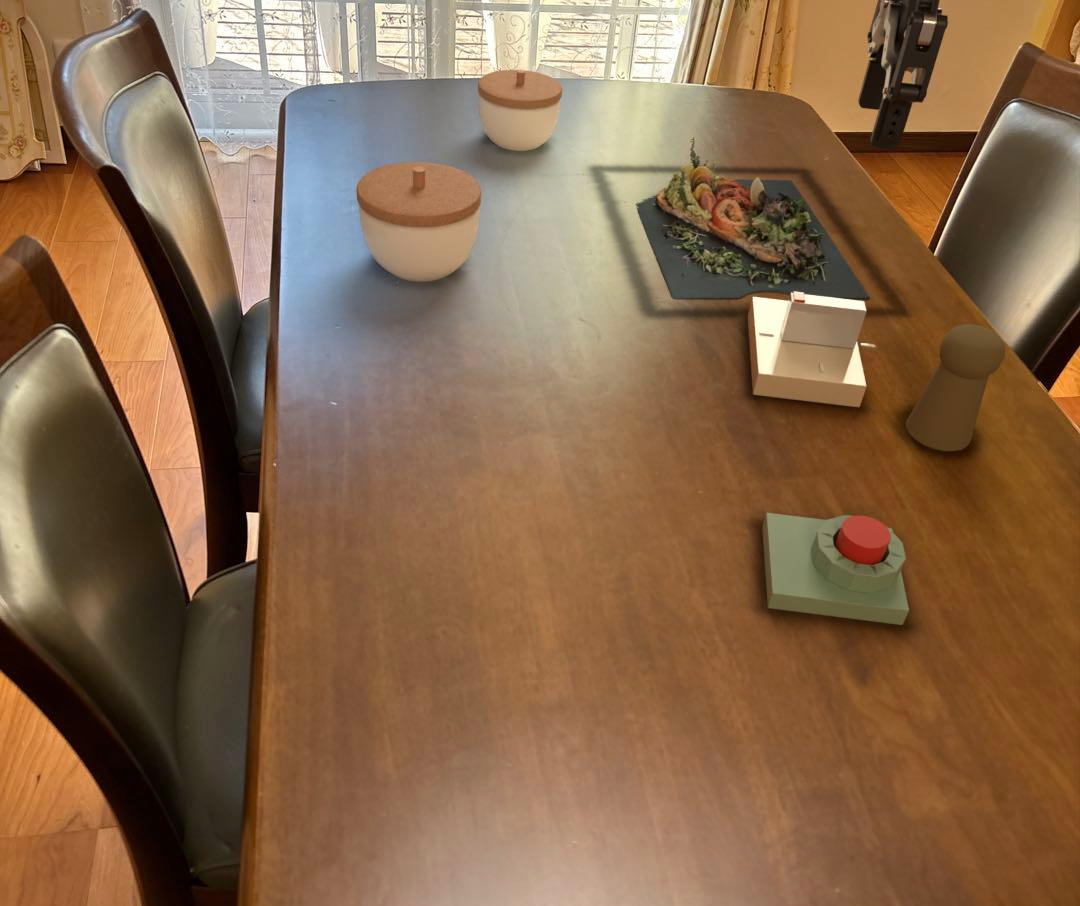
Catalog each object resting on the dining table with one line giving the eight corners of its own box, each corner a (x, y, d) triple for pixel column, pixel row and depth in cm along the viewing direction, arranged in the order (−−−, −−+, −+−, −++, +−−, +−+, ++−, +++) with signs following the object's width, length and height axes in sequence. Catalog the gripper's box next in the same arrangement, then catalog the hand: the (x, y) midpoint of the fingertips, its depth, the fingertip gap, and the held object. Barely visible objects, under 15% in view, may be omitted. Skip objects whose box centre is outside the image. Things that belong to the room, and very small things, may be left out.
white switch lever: (852, 339, 100) (865, 298, 97) (854, 349, 98) (867, 308, 95) (780, 330, 100) (791, 290, 97) (781, 340, 99) (792, 299, 96)
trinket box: (512, 169, 130) (516, 93, 123) (460, 139, 135) (460, 65, 128) (574, 149, 135) (580, 76, 129) (521, 122, 140) (525, 50, 134)
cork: (962, 420, 96) (1006, 318, 89) (975, 460, 92) (1024, 357, 84) (897, 413, 96) (937, 311, 89) (908, 453, 92) (950, 349, 84)
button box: (884, 547, 83) (899, 511, 80) (900, 630, 76) (917, 593, 73) (760, 532, 83) (771, 495, 80) (765, 613, 76) (778, 576, 74)
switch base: (857, 334, 106) (866, 308, 104) (874, 414, 96) (885, 387, 94) (746, 321, 106) (752, 294, 104) (751, 399, 96) (758, 371, 94)
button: (880, 535, 78) (887, 518, 77) (886, 568, 76) (894, 551, 74) (833, 529, 78) (839, 512, 77) (838, 561, 76) (844, 545, 74)
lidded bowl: (338, 259, 110) (331, 159, 103) (435, 230, 116) (435, 134, 109) (403, 311, 103) (400, 208, 96) (502, 278, 110) (507, 178, 102)
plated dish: (591, 173, 130) (598, 116, 125) (799, 177, 135) (814, 122, 129) (650, 324, 105) (662, 260, 100) (903, 323, 110) (927, 261, 105)
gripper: (1017, -70, 68) (936, 167, 79) (975, -116, 78) (908, 100, 90) (904, -81, 68) (839, 156, 80) (877, -126, 79) (823, 90, 90)
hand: (876, 126), depth 85 cm, fingers open, 8 cm apart
